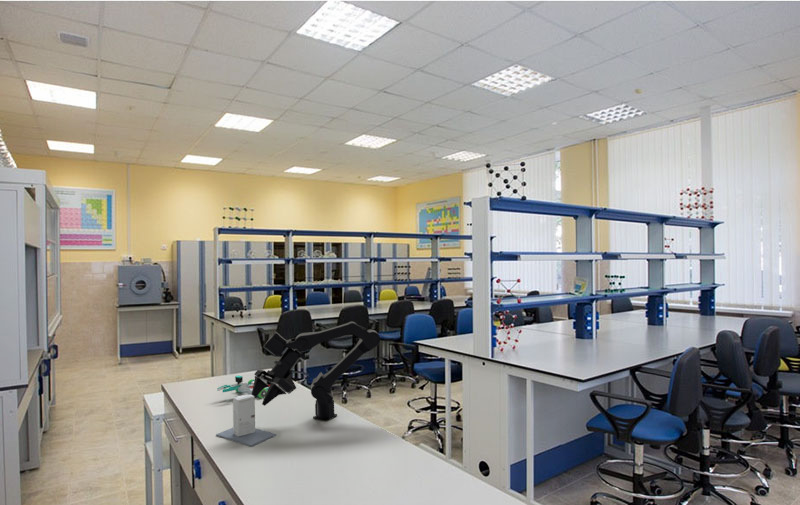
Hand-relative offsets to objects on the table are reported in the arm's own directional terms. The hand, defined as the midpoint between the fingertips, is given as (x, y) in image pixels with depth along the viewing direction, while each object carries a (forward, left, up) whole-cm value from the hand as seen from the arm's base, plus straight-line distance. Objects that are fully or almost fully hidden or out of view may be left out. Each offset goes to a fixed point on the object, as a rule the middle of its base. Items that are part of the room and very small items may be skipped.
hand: (257, 402), depth 152 cm
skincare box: (+1, +4, -9) cm, 11 cm away
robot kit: (+37, -25, -10) cm, 46 cm away
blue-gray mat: (0, +5, -10) cm, 11 cm away
